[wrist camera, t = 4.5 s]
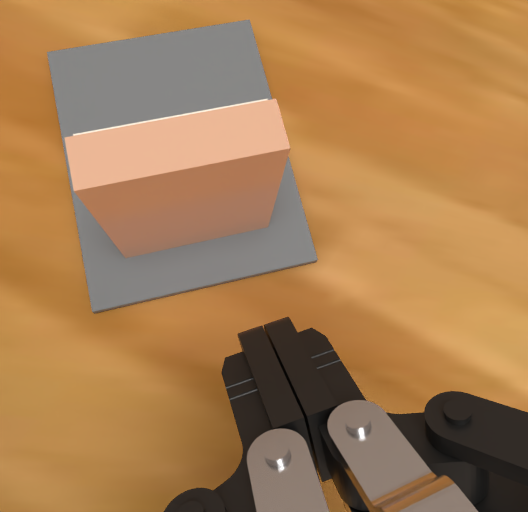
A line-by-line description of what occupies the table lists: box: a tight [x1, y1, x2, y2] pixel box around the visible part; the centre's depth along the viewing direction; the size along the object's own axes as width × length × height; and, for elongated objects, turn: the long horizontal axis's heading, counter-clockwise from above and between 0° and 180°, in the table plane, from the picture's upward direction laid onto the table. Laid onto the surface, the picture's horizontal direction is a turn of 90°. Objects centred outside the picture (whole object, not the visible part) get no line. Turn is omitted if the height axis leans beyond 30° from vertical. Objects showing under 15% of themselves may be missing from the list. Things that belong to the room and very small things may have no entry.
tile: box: [64, 99, 290, 258], centre depth 26 cm, size 3×9×11 cm, turn 104°
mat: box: [47, 20, 318, 313], centre depth 33 cm, size 18×14×1 cm
